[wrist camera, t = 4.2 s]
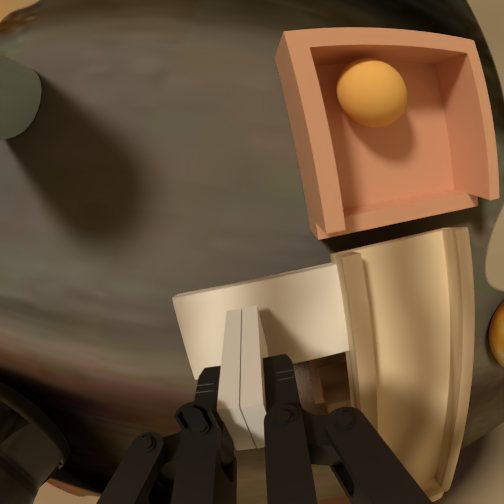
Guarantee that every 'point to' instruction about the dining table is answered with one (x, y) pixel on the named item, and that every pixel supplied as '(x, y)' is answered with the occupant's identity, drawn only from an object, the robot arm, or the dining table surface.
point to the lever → (370, 337)
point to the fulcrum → (330, 381)
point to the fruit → (497, 334)
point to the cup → (17, 97)
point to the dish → (388, 129)
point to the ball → (371, 92)
